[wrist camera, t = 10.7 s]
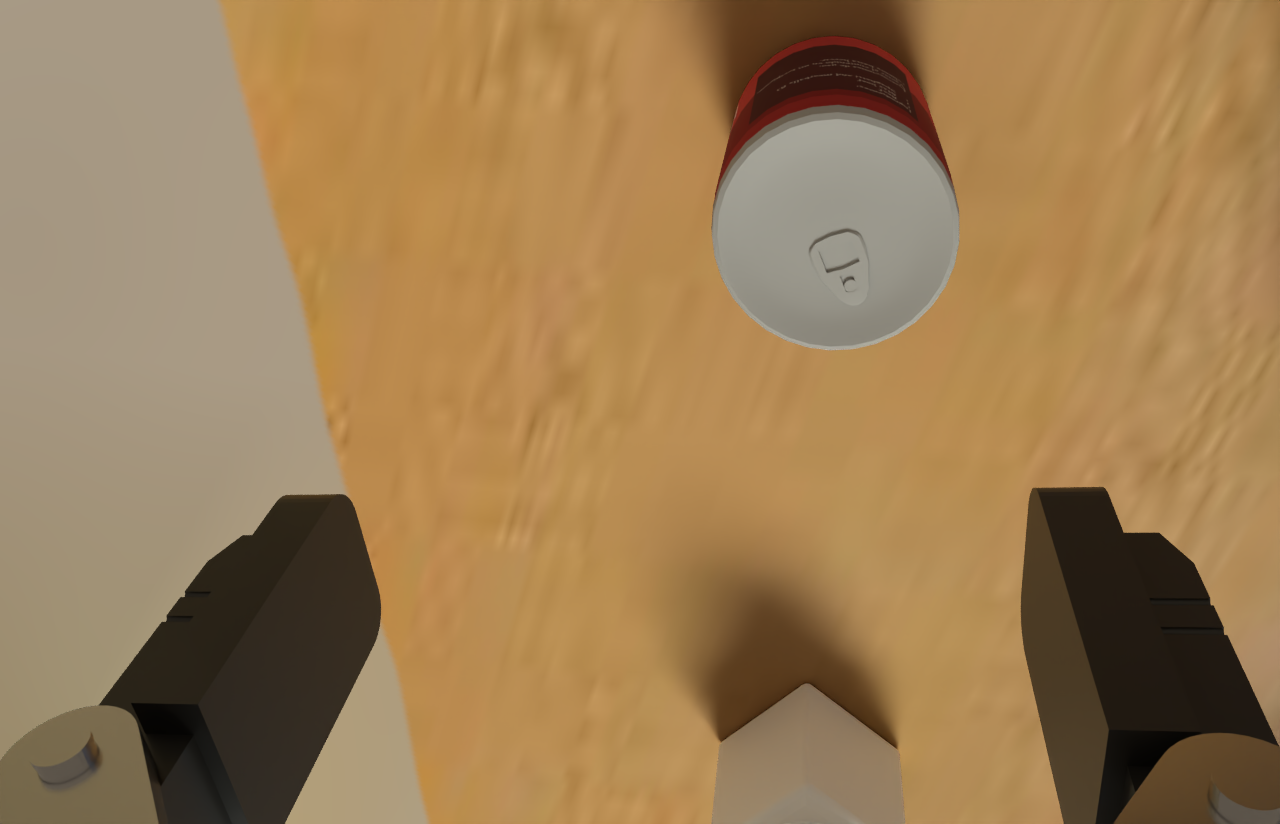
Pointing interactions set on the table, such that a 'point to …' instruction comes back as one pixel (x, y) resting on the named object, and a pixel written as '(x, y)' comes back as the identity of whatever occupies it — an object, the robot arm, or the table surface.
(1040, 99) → the table surface
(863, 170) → the canned food
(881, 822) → the medicine bottle
